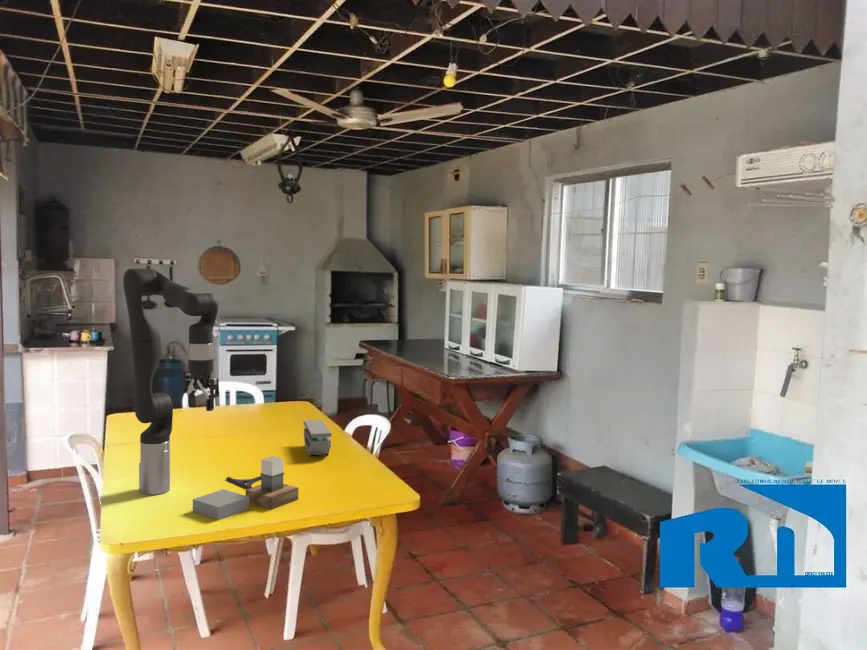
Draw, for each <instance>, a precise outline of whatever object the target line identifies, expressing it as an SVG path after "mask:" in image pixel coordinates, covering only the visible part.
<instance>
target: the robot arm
mask: <svg viewBox="0 0 867 650" xmlns="http://www.w3.org/2000/svg"><path fill="white" fill-rule="evenodd" d="M122 280H123V281H122V283H123V291H124V297H125V301H126V303H125V304H126V308H127V312H128V313H127V314H128V319H129V321H128V322H129V330H130V346H131V355H132V364H133V365H132V366H133V381H134V382H133V383H134V384H133V406H134V414H135V418H136V419H137V420H138V421H139V422H140V423H142V424H149V423H150V424H149V426H148V427H147V428H146V429H145V430H143V431H142V432H141V433H140V436H139V440H140V441H139V443H140V449H139V450H140V451H139V452H140V455H139V456H140V461H139V463H138V487H139V488H138V490H139V491H140V494H143V495H160V494H165V493H168V492H169V491H170V490H171V488H170V487H171V451H170V450H171V448H170V447H171V439H170V438H171V435H172V431H173V416H174V405H173V401H172V398H171V396H170V395H169V394H168V393H165V392H155V393H153V379H154V376H155V372H156V370H157V369H158V366H159V364H160V361H161V359H162V355H163V351H162V341H161V340H162V339H161V335H160V331H159V329H158V327H156V325H155V324H154V323H153V321H152V320H151V319H150V317H149V316H148V314H147V312H146V310H145V308H144V304H143V299H142V297H152V296H161V297H162V298H163V300H164V302H165V303H167V304H169V305H170V306H173V307H176V308H178V309H179V310H180V311H182V313H183V314H185V315H186V316H190V317H200V319H199V321H198V322H196V323H193V324H190V326H189V327H188V346H187V347H188V348H187V372H188V373H185V374H183V381H182V383H183V384H182V393H185V394H186V396H187V407H188V408H195V407H197V406H196V404H197V403H196V393H197V391H201V392H202V394H204V396H205V398H206V399H205V410H206V411H207V412H212V411H214V408H215V399H216V398H218V397H220V383H219V382H220V381H219V380H220V379H219V378H218V377H212V373H213V372H214V343H213V342H214V341H213V339H214V337H213V336H214V335H213V334H214V333H213V332H214V331H213V330H214V327H215V325H216V324H215V323H216V319H217V316H218V312H219V306H220V305H219V301H218V300H219V299H218V297H217V296H216V295H215V294H213V293H211V292H202V293H201V292H197V293H196V292H195V290H193V289H192V288H189V287H187V286H185V285H182V284H179V283H177V282H175V281H172V280H171V279H169V278H168V277H166V276H165V275H164V274H162V273H161V272H159V271H158V270H156V269H153V268H128V269H126V271H125V272H124V274H123V279H122Z"/></svg>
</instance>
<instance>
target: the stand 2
mask: <svg viewBox="0 0 867 650" xmlns="http://www.w3.org/2000/svg"><path fill="white" fill-rule="evenodd" d="M299 488H300V487H297V486H294V485H289V484H287V483H283V489H280V490H277V491H274V492H269V491H266V490H262V489H261V484H260V485H258V484H257V485H256V486H253V487H252V488H249V489H245V496H248V497H249V504H252V505H256V506H259V507H262V508H265V509H268V510H275V509H277V508H279V507H283V506H285V505H287V504H290V503H292V502H295V501H298V500H299Z"/></svg>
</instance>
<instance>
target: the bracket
mask: <svg viewBox="0 0 867 650" xmlns="http://www.w3.org/2000/svg"><path fill="white" fill-rule="evenodd" d="M225 481H227V482H230V483H231V482H232V484H233V485H236V486H239V487H240V488H242V489H245V490H246V489H249V488H252V485H253V484H254V483H256V482H259V481H261V475H259V476H256V477H254V478H250V479H249V478H247V479H244V478H242V479H237V478H232V477H230V476H227V477H226V478H225ZM245 483H246V484H245Z"/></svg>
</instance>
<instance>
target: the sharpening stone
mask: <svg viewBox="0 0 867 650" xmlns="http://www.w3.org/2000/svg"><path fill="white" fill-rule="evenodd" d="M303 425H304V427H305V428H303V439H304V447H305V448H306V449H305V448H304V449H305V451H306V450H307V451H306V453H307V452H308V453H307V455H308V454H309V455H308V457H311V456H310V455H322V456H326V455H325V454H328V455H329V454H330V450H331V446H332V445H331V444H332V441H331V438H332V431H331V430H330V429H329V427H328V426H327V425H326V423H325V422H324V421H323V419H305V420H303Z"/></svg>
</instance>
